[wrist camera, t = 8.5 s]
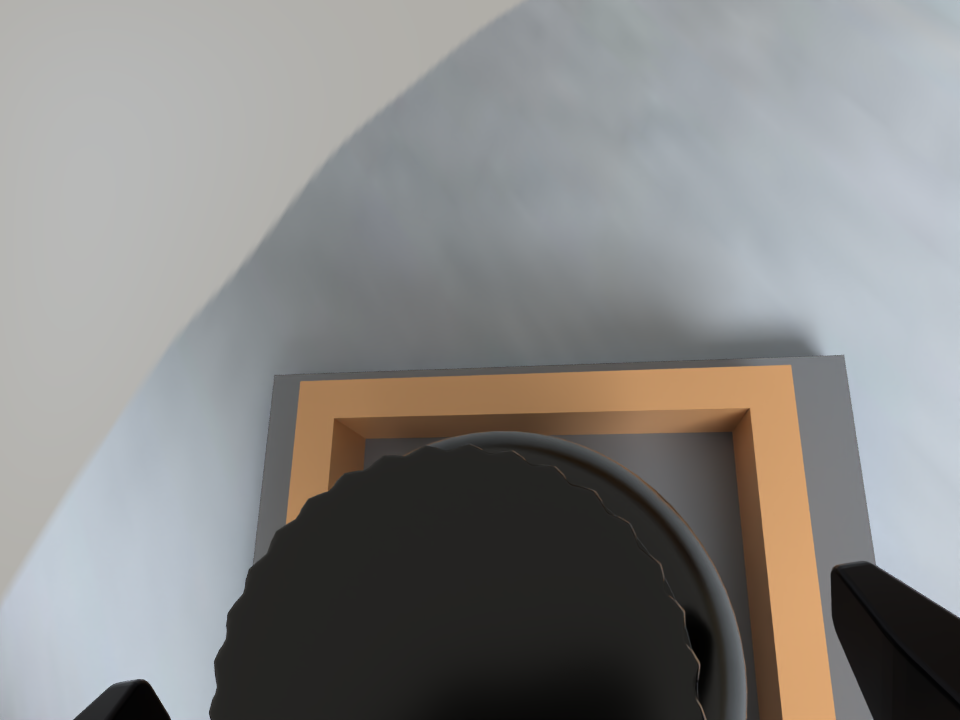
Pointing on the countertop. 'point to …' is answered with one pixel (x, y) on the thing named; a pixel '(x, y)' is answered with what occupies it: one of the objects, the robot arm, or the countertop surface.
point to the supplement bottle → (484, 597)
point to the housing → (643, 477)
